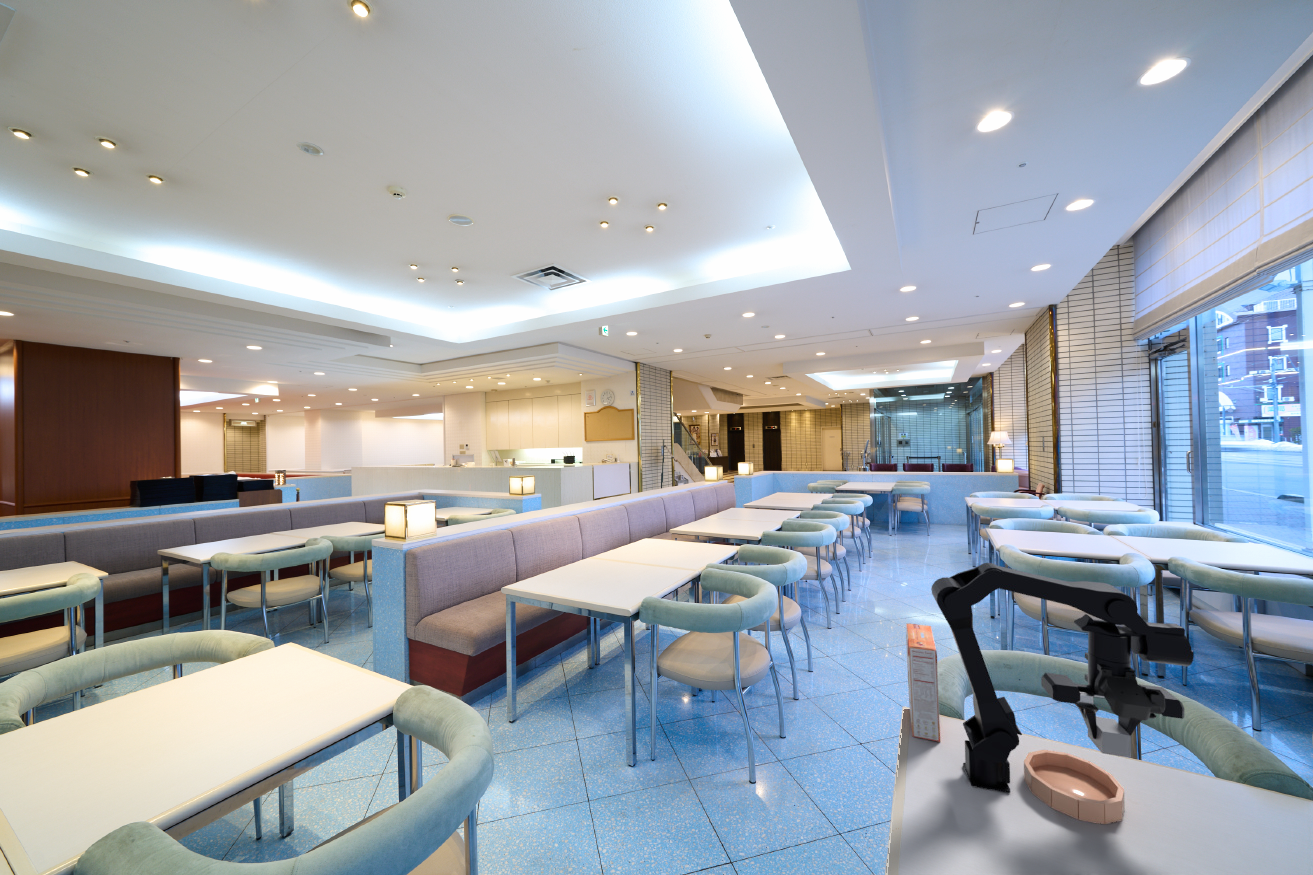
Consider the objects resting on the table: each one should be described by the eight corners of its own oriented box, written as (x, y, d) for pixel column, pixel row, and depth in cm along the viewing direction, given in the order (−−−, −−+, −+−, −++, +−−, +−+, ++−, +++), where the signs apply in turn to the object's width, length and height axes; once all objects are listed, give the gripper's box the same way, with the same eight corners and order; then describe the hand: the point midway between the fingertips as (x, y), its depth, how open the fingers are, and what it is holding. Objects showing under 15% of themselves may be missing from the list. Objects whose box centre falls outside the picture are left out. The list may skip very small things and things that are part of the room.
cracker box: (907, 704, 123) (905, 621, 122) (935, 709, 120) (932, 624, 120) (910, 737, 110) (907, 645, 110) (941, 743, 108) (938, 649, 107)
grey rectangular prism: (1102, 753, 88) (1102, 731, 88) (1087, 736, 93) (1088, 715, 92) (1130, 757, 86) (1130, 735, 86) (1114, 740, 91) (1114, 719, 91)
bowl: (1043, 813, 88) (1043, 794, 88) (1014, 761, 101) (1013, 745, 101) (1142, 830, 83) (1142, 810, 83) (1098, 774, 97) (1097, 757, 96)
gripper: (1067, 669, 84) (1066, 758, 85) (1209, 686, 78) (1207, 781, 79) (1040, 641, 95) (1039, 720, 95) (1163, 655, 89) (1162, 739, 89)
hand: (1108, 739), depth 89 cm, fingers closed on grey rectangular prism, 4 cm apart
